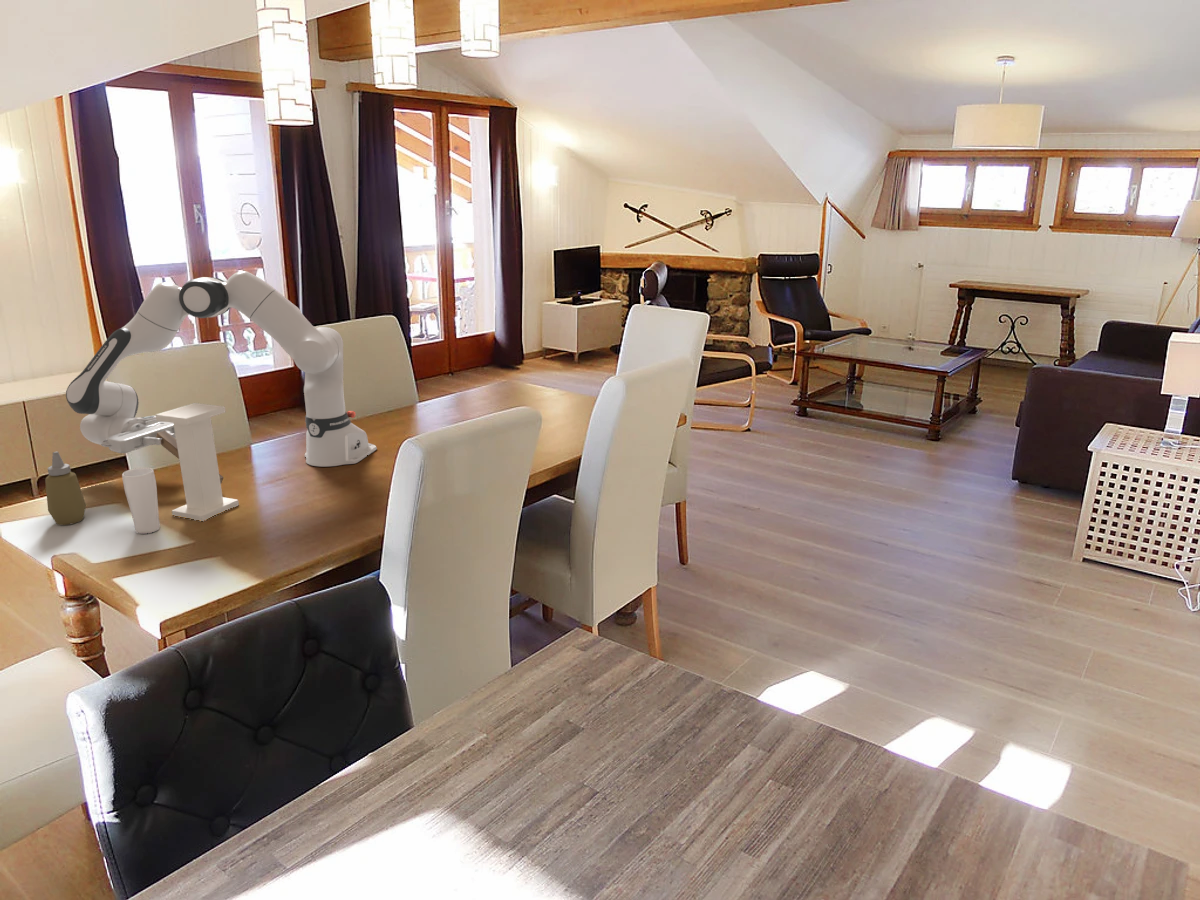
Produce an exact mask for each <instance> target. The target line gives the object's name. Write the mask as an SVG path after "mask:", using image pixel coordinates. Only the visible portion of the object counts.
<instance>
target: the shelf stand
mask: <svg viewBox="0 0 1200 900" xmlns="http://www.w3.org/2000/svg"><path fill="white" fill-rule="evenodd" d="M225 413H226V407H225V406H224V405H215V404H209V403H199V402H193V403H189V404H186V405H182V406H179V407H177V408H173V409H168V410H166V411H163V412H159V413H155V416H156V421H163V422H171V423H173V424H174V430H175V436H176V442H177V448H178V454H179V459H178V460H179V465H180V470H181V471H180V473H181V477H182V478H181V479H182V484H183V490H184V495H185V496H184V498H185V502H186V503H185V504H184V505H181V506H179V507H177V508H175V509H172V510H171V514H172V515H175V516H181V517H186V518H191V519H194V520H193V521H196V520H201V521H203V522H205V521H207V520H206V519H208V518H210V517H212V516H214V515H216V514H218V513H221V512H223V511H225V510H227V511H229V510H231V509H230V508H232V509H233V507H234V508H235V507H238V506H239V505H240V504H239V499H236V498H232V497H230V498H229V497H224V496H223V491H222V483H220V476H219V474H220V472H219V471H220V470H219V464H218V457H217V451H216V444H215V443H216V442H215V436H214V430H213V424H212V417H216V416H219V415H222V414H225ZM228 509H229V510H228ZM225 512H226V511H225ZM223 513H224V512H223ZM221 514H222V513H221ZM172 515H171V516H172ZM175 516H174V517H175ZM216 516H217V515H216ZM214 517H215V516H214ZM212 518H213V517H212ZM191 519H190V520H191ZM210 519H211V518H210ZM204 520H205V521H204ZM208 520H209V519H208ZM201 521H200V522H201Z"/></svg>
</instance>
